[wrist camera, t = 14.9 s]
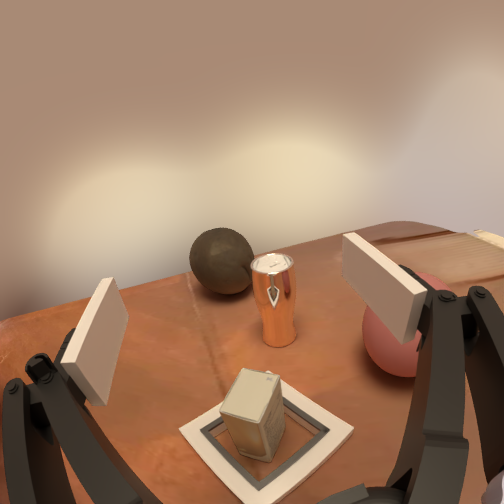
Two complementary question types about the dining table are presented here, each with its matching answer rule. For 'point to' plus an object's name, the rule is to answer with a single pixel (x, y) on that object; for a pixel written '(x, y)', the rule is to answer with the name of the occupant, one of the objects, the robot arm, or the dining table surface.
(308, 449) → the socket block
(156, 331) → the dining table surface
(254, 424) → the skincare box
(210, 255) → the dark brown ball
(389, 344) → the balloon
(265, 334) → the beer glass
